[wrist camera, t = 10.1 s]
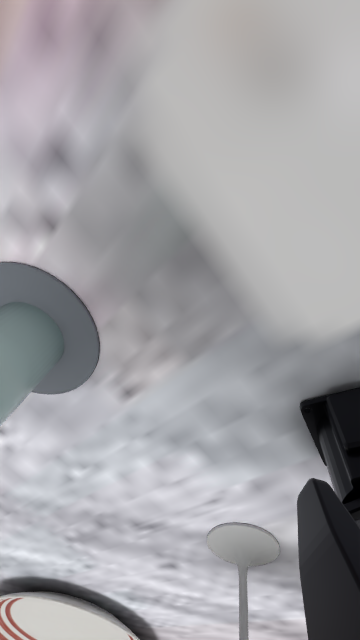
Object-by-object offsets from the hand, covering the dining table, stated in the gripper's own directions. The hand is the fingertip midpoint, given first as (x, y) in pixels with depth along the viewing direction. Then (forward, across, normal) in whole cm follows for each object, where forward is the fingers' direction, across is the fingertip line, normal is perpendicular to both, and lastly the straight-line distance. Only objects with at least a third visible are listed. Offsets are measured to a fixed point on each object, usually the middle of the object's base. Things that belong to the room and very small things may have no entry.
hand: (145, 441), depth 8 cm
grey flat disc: (+12, +11, +7) cm, 18 cm away
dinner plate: (+12, +6, +60) cm, 62 cm away
